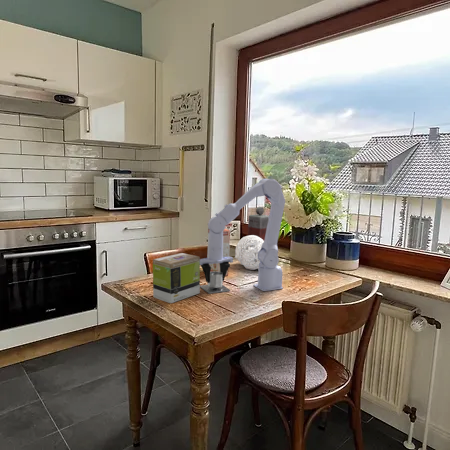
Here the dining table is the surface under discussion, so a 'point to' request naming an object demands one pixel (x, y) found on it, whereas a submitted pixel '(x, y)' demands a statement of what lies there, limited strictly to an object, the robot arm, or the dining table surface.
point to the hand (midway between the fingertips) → (214, 281)
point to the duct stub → (214, 289)
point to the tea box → (176, 277)
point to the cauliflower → (249, 251)
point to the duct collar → (216, 279)
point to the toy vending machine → (258, 224)
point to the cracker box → (225, 249)
